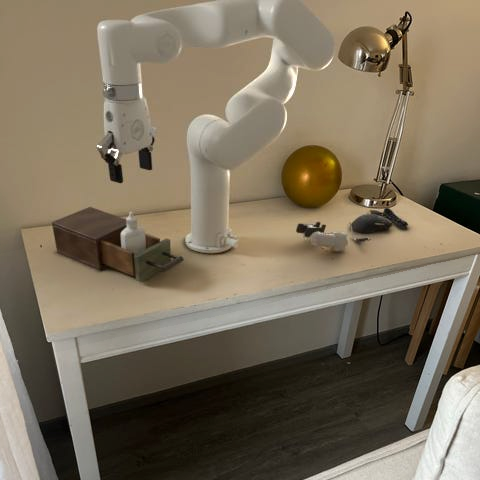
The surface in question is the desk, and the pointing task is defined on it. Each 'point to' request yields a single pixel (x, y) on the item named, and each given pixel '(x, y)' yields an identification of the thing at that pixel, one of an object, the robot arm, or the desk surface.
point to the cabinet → (85, 234)
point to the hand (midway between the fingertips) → (131, 175)
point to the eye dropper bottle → (133, 236)
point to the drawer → (138, 256)
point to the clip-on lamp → (326, 236)
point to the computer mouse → (376, 221)
